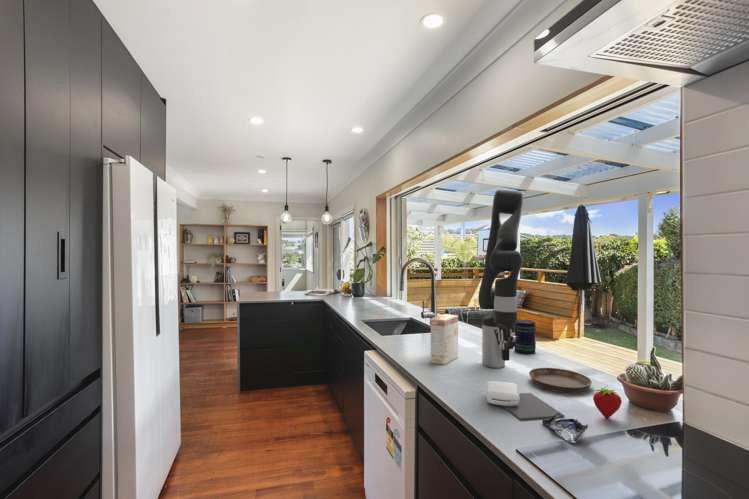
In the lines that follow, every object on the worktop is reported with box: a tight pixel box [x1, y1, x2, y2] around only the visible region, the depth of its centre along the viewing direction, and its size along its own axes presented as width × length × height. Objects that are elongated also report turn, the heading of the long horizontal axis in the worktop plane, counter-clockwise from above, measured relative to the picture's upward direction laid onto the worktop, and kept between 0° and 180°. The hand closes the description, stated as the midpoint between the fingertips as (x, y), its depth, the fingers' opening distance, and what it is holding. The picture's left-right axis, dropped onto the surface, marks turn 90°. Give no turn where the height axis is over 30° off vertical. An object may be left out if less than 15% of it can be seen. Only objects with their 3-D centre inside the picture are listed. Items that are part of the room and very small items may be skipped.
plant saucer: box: [528, 367, 592, 394], centre depth 139 cm, size 21×21×3 cm
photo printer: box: [485, 380, 520, 407], centre depth 123 cm, size 10×4×12 cm
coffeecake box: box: [430, 313, 459, 366], centre depth 171 cm, size 15×7×20 cm, turn 144°
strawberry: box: [592, 384, 622, 419], centre depth 111 cm, size 6×8×10 cm
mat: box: [502, 392, 565, 421], centre depth 120 cm, size 18×14×1 cm
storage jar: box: [513, 319, 537, 356], centre depth 185 cm, size 10×10×15 cm
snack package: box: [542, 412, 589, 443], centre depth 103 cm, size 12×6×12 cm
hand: (505, 359), depth 129 cm, fingers closed
